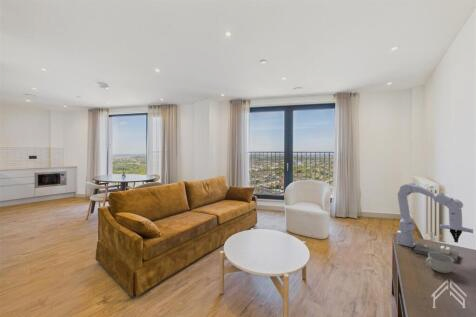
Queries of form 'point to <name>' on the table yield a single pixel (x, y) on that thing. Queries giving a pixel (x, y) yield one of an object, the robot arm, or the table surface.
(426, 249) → the console
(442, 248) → the fader
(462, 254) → the table surface
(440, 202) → the robot arm
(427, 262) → the teacup
